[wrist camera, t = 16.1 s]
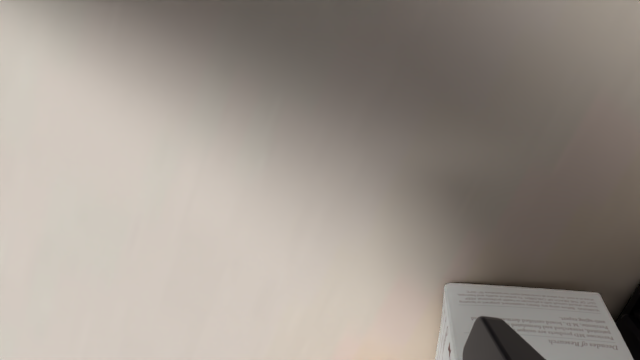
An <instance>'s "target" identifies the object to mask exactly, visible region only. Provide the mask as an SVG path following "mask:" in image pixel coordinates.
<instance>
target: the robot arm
mask: <svg viewBox="0 0 640 360" xmlns="http://www.w3.org/2000/svg"><path fill="white" fill-rule="evenodd" d="M615 324H616V326H617V328H618V330H619V331H620V333H621V335H622V338H623V340H624V341H625V343H626V345H627V347H628V349H629V351H630V353H631V355H632V357H633V359H634V360H640V284H639V286H638V287H637V289H636V290H635V292H634V294H633V295H632V297H631V299H630V300H629V302H628V304H627V305H626V307H625V309H624V310H623V312H622V314H621V315H620V317H619V318H618V320H617V322H616V323H615ZM463 360H546V359H545V358H544V357H543V356H542V355H541V354H539V353H538V352H537V351H536V350H535V349H534V348H533V347H532V346H531V345H530V344H529V343H528V342H526V341H525V340H524V339H523V338H522V337H521V336H520V335H519V334H518V333H517V332H516V331H515V330H514V329H512V328H511V327H510V326H509V325H508V324H507V323H506V322H505V321H504V320H502V319H501V318H497V317H488V316H479V317H478V318H477V319H476V320H475V322H474V324H473V327H472V329H471V331H470V334H469V336H468V338H467V341H466V343H465V345H464V348H463Z"/></svg>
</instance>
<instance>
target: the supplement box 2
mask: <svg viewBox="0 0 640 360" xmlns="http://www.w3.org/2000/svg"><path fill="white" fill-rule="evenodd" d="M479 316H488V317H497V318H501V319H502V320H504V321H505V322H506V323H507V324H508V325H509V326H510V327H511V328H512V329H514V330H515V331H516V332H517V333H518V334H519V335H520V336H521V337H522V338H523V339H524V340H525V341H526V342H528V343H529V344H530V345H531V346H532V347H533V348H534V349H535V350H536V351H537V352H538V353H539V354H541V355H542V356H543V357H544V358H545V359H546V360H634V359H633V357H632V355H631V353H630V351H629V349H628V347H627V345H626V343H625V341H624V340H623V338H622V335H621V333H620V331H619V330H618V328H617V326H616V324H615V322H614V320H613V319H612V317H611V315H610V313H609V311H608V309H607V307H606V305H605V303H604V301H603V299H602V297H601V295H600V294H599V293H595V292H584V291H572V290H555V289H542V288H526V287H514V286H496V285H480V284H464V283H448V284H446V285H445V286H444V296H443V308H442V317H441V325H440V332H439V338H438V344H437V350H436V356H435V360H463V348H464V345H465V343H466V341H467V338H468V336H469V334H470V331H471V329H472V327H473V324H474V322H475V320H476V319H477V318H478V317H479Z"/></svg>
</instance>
